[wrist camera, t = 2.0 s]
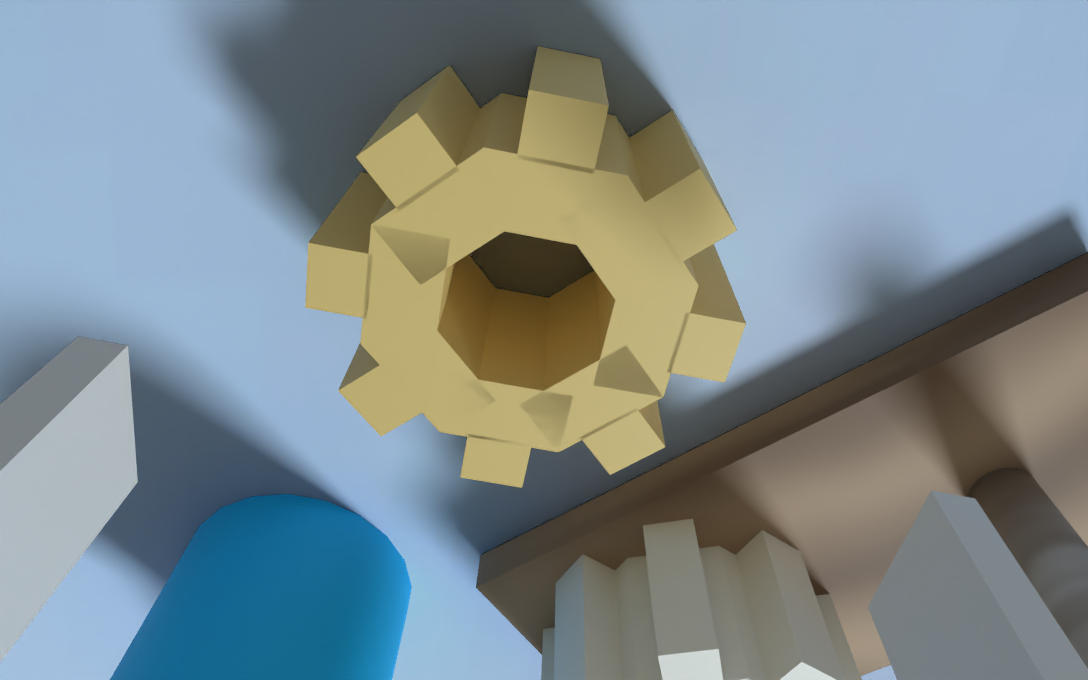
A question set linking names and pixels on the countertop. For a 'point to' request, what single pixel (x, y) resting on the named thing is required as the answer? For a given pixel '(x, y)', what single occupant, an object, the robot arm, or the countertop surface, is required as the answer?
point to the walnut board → (871, 470)
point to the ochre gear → (518, 318)
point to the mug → (277, 599)
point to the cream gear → (695, 615)
